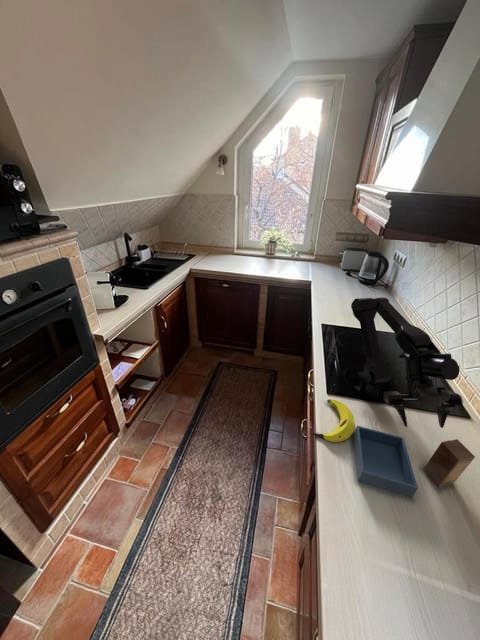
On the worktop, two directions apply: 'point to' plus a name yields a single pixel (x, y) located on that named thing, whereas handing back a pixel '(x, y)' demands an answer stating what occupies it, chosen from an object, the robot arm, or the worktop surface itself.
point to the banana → (345, 424)
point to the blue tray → (383, 461)
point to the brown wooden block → (448, 462)
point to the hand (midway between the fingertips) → (423, 426)
